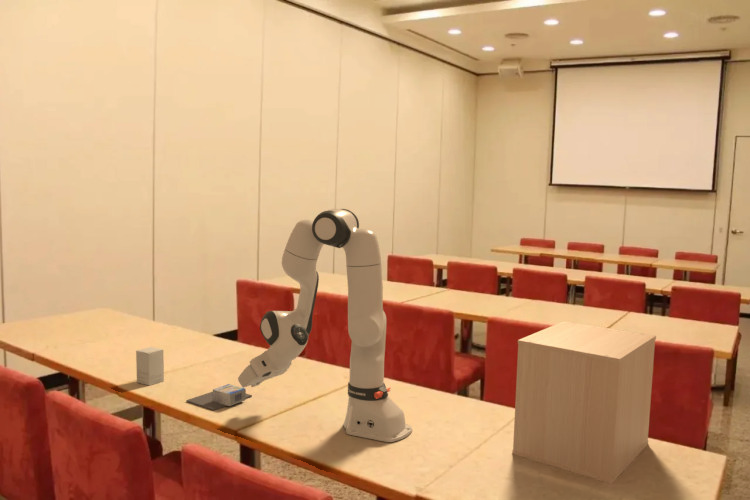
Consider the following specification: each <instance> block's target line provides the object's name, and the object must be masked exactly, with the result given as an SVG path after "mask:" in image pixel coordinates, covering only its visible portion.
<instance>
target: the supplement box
mask: <svg viewBox="0 0 750 500" xmlns="http://www.w3.org/2000/svg"><path fill="white" fill-rule="evenodd" d="M135 356H136V357H135V361H136V364H135V365H136V383H138V384H142V385H146V386H153V385H155V384H160V383H162V382H165V371H164V370H165V369H164V365H165V363H164V362H165V361H164V358H165V357H164V349H163V348H159V347H158V348H157V347H153V346H149V347H145V348H141V349H138V350H136V351H135Z"/></svg>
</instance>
